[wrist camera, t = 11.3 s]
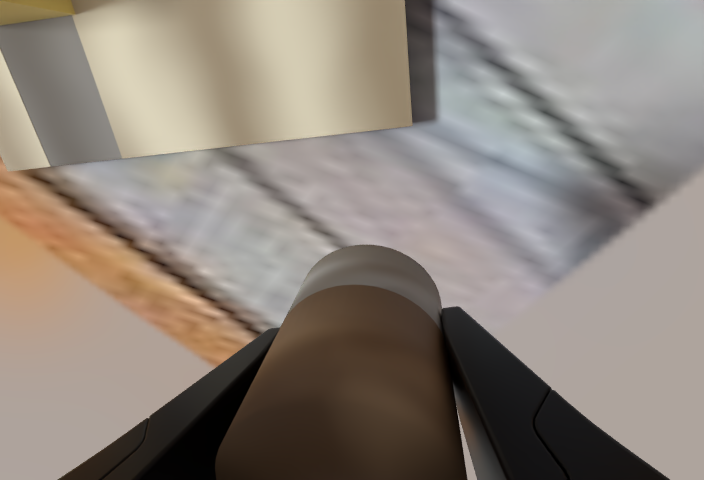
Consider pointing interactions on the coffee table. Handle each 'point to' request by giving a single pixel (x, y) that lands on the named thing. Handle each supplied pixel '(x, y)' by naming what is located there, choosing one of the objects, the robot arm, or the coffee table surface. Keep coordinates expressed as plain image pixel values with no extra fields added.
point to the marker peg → (352, 381)
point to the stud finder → (33, 10)
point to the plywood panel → (198, 76)
